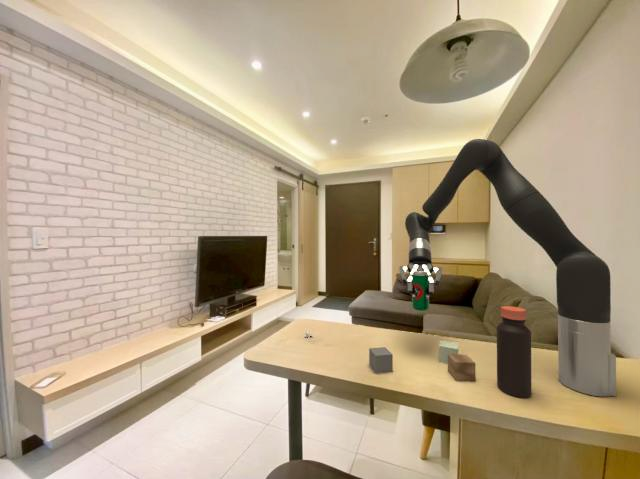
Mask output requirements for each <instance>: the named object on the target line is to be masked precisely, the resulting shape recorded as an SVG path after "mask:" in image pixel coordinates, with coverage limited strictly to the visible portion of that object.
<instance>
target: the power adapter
mask: <svg viewBox="0 0 640 479" xmlns="http://www.w3.org/2000/svg"><path fill="white" fill-rule="evenodd" d="M310 336H312V337H310ZM305 337H309V338H308V339H311V338H314V336H313V334H311V330H310V329H307V330H305V335H304V338H305Z"/></svg>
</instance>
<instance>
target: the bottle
mask: <svg viewBox="0 0 640 479" xmlns="http://www.w3.org/2000/svg"><path fill="white" fill-rule="evenodd" d="M500 315H501V316H500V318H501V319H502V321H501V322H500V323H499V324H498V325H497V326H496V385H497V388H498V389H499V390H500V391H502V392H503V393H505V394H507V395H509V396H512V397H515V398H521V399H523V398H524V399H525V398H530V397H532V393H533V392H532V331H531V330H530V329H529V328H528V327H527V326H526V324H525V322H526V320H527V310H526V309H525V308H523V307H519V306H512V305H511V306H509V305H505V306H503V305H502V306H501V307H500Z"/></svg>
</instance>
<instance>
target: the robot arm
mask: <svg viewBox="0 0 640 479" xmlns="http://www.w3.org/2000/svg"><path fill="white" fill-rule="evenodd" d="M474 171H479V172H480V173H481V174H482V175H483V176H484V177H485V178H486V179H487V180H488V181H489V182H490V183H491V185H492V186H493V189H494V190H495V193H496V195H497V199H498V201H499V204H500V205H501V207H502V209H503V210H504V212H505V213H506V214H507V215H508V216H509V218H510V219H511V220H512V221H513V222H514V223H515V225H517V227H518V228H520V230H521V231H523V232H524V233H525V234H526V235H527V236H528V237H530V238H531V239H532V240H533V241H534V242H535V243H536V244H538V245H539V246H540V247H541V248H542V249H543V250H544V252H545V253H546V254H547V255H548V257H549V258H550V260H551V261H552V262H553V264H554V266H555V267H556V274H555V275H556V276H555V277H556V278H555V282H556V283H555V284H556V304H557V320H558V321H557V325H558V326H557V330H558V331H557V339H558V342H557V343H558V345H557V347H558V348H557V349H558V351H557V352H558V356H557V359H558V367H557V368H558V369H557V372H558V381H559V382H560V383H561V384H562V385H563V386H565V387H567V388H569V389H571V390H573V391H576V392H580V393H582V394H585V395H590V396H593V397H594V396H595V397H610V396H612V397H617V356H616V354H614V353H612V352H611V349H612V346H611V345H612V344H611V342H612V341H611V340H612V338H611V314H612V313H611V312H612V309H611V308H612V307H611V303H612V302H611V296H612V295H611V292H612V291H611V289H612V288H611V270H610V268H609V266H608V264H607V263H606V262H605V261H604V259H602V258H601V257H599V256H598V255H596V254H595V253H594V252H593V251H592V250H591V249H590V248H588V247H587V246H586V245H585V244H584V243H583V242H582V241H580V240H579V239H578V238H577V237H576V236H575V235H574V234H573V233H572V231H571V230H570V229H569V227H568V226H567V224H566V223H565V221H564V220H563V218H562V217H561V216H560V214H559V213H558V212H557V210H556V209H555V208H554V207H553V205H552V204H551V203H550V202H549V201H548V199H547V198H545V196H544V195H543V194H542V193H541V192H540V191H539V190H538V189H537V188H536V187H535V186H534V185H533V184H532V183H531V182H530V181H529V180H528V179H527V178H526V177H525V176H524V175H523V174H522V173H521V172H519V170H517V169H516V168H515V167H514V165H513V163H511V161H510V160H509V159H508V157H507V156H506V154H505V153H504V151H503V150H502V149H501V147H500V146H499V145H498V143H496V142H495V141H492V140H490V139H489V140H488V139H483V138H475V139H472V140H471V139H470V140H468V142H466V143H465V144H464V145H463V147H462V148H461V149H460V151H459V152H458V154H457V156H456V157H455V158H454V161H453V162H452V163H451V166H450V167H449V169H448V170H447V172H446V174H445V175H444V177H443V179H442V180H441V181H440V183H439V184H438V186H437V187H435V188H436V189H435V190H434V191H433V192H432V193H431V194H430V196H429V197H428V198H427V199H426V200H425V201H424V202H423V204H422V206H421V207H422V208H421V209H422V211H423V212H424V213H425V215H423V214H421V213H419V212H416V211H414V212H410V213H409V214H408V215H407V216H406V218H405V220H404V226H405V229H406V232H407V235H408V237H409V245H408V263H407V265H406V266H403V265H400V266H399V267H398V270H399V271H398V272H399V275H400V278H401V283H402V284H403V285H405V284H406V285H407V294H409V295H410V296H412V274H413V271H426V272H428V275H429V297H432V295H434V293H435V288H434V287H435V286H437V287H438V286H440V284H441V282H440V281H441V278H442V273H443V267H441V266H439V267H435V266H434V265H433V263H432V249H431V242H430V241H431V240H430V235H429V233H430V232H432V231H433V228H434V226H435V223H436V222H437V220H438V219H439V216H440V215H441V214H442V213H443V211H445V210H446V209H447V207H448V206H449V205H450V204H451V202H452V201H453V200H454V198H455V195H456V194H457V191H458V189H459V187H460V186H461V185H462V183H463V181H464V180H466V179H467V177H469V175H470V174H471V173H473V172H474ZM426 215H427V216H426ZM407 272H408V273H409V277H408V278H407V277H406V274H407ZM433 272H434V274H435V279H433V277H432V275H431V274H432V273H433Z"/></svg>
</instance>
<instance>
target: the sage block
mask: <svg viewBox="0 0 640 479" xmlns="http://www.w3.org/2000/svg"><path fill="white" fill-rule="evenodd" d="M448 354H459V343H458V342H454V341H453V342H452V341H447V340H442V339H441V340H440V341H439V344H438V360H439V361H438V363H441V364H447V365H448Z"/></svg>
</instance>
